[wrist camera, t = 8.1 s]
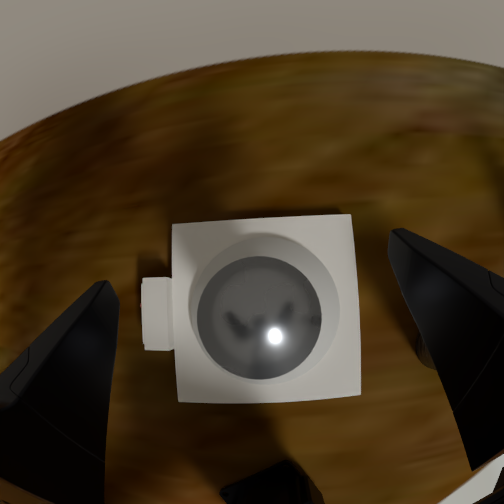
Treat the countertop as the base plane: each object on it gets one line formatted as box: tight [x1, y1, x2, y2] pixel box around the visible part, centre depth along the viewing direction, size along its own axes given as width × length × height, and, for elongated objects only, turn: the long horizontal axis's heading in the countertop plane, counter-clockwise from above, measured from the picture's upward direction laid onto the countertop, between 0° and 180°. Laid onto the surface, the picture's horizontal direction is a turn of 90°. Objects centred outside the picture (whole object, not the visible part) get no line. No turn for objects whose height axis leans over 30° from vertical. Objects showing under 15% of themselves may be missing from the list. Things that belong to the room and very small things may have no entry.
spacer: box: [197, 256, 322, 380], centre depth 16 cm, size 4×4×10 cm
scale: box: [140, 214, 361, 403], centre depth 21 cm, size 13×15×2 cm
